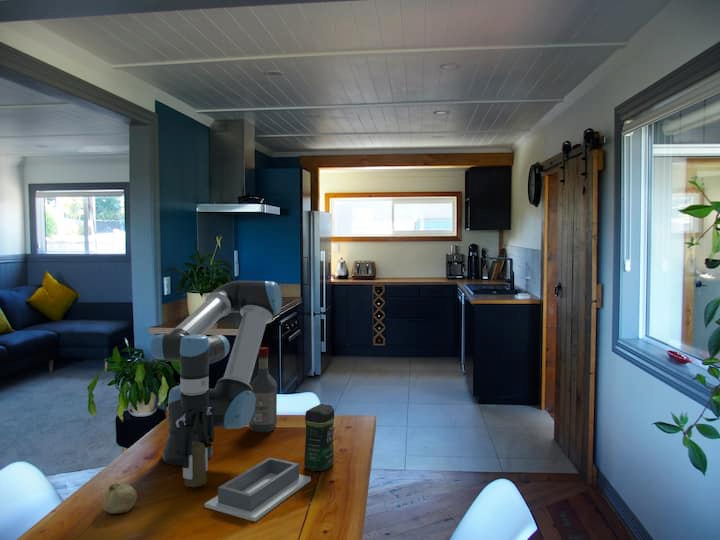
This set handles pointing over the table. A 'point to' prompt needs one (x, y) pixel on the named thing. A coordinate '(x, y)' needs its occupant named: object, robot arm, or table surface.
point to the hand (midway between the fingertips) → (195, 473)
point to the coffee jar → (319, 438)
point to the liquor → (264, 397)
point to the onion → (119, 498)
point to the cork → (197, 465)
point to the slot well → (258, 489)
